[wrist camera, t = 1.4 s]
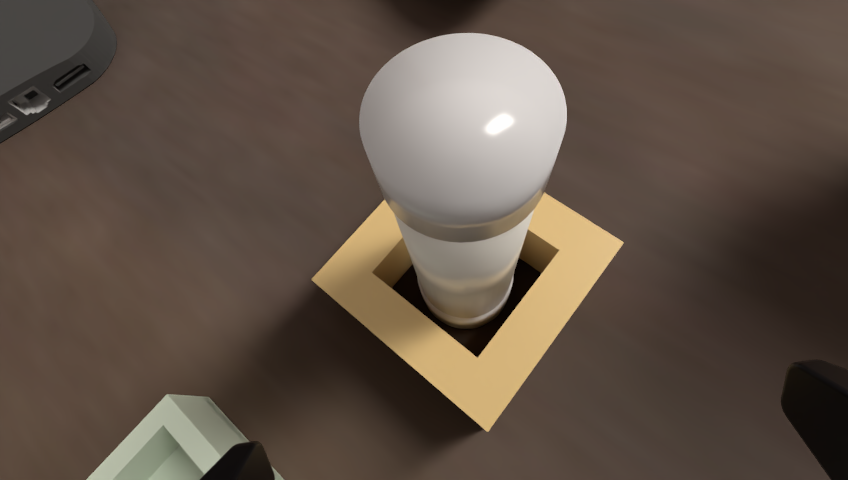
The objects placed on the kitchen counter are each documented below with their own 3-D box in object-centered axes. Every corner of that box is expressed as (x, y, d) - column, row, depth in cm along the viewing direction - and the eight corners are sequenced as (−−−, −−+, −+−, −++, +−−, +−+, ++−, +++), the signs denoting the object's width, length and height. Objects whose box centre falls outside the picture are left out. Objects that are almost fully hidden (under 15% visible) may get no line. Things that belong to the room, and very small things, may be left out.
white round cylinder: (527, 277, 21) (608, 90, 9) (473, 347, 20) (480, 246, 8) (457, 228, 22) (444, 5, 10) (404, 292, 21) (317, 130, 9)
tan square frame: (599, 269, 21) (623, 242, 17) (484, 428, 18) (487, 432, 15) (449, 170, 23) (446, 131, 20) (335, 300, 21) (311, 279, 18)
